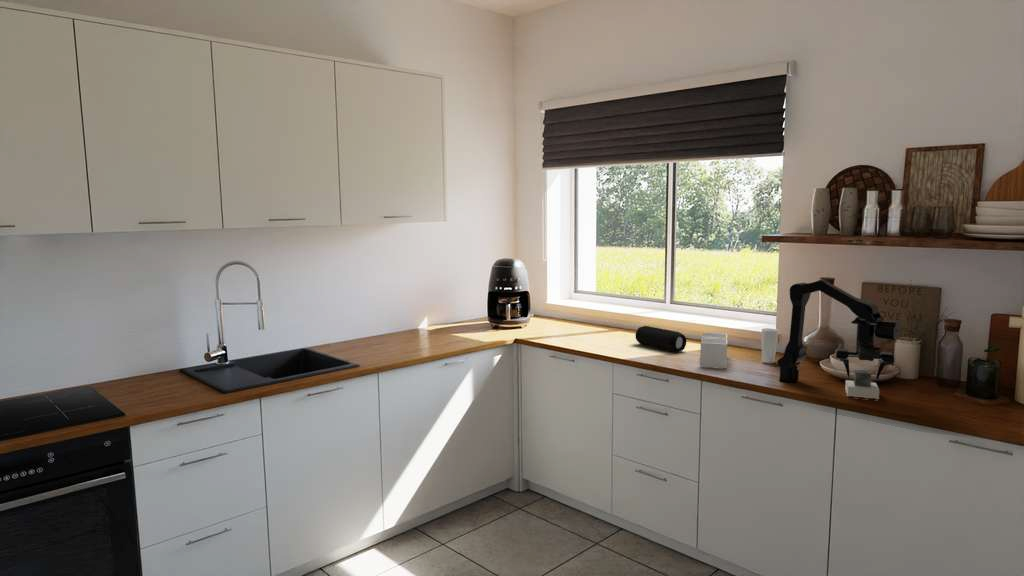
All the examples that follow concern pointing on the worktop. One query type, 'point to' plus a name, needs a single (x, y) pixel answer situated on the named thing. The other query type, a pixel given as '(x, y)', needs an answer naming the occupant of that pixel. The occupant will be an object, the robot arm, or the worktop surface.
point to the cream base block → (862, 390)
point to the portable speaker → (661, 338)
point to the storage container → (713, 350)
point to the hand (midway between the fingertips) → (862, 378)
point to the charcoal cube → (862, 378)
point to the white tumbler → (769, 345)
